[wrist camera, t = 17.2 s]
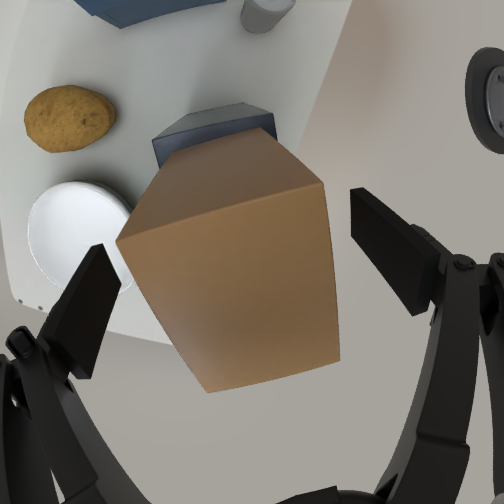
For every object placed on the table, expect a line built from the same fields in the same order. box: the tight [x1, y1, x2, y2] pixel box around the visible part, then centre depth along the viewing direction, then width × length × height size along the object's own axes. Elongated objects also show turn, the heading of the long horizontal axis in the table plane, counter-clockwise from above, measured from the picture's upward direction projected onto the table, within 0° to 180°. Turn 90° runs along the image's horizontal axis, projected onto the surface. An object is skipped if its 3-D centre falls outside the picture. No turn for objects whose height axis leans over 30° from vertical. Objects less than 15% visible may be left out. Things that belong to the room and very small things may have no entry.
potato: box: [24, 85, 115, 153], centre depth 29 cm, size 10×13×9 cm
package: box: [115, 127, 340, 393], centre depth 15 cm, size 6×8×12 cm
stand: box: [152, 102, 278, 169], centre depth 29 cm, size 8×10×22 cm
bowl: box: [27, 180, 134, 295], centre depth 39 cm, size 19×19×8 cm
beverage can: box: [241, 0, 296, 33], centre depth 25 cm, size 5×5×12 cm
